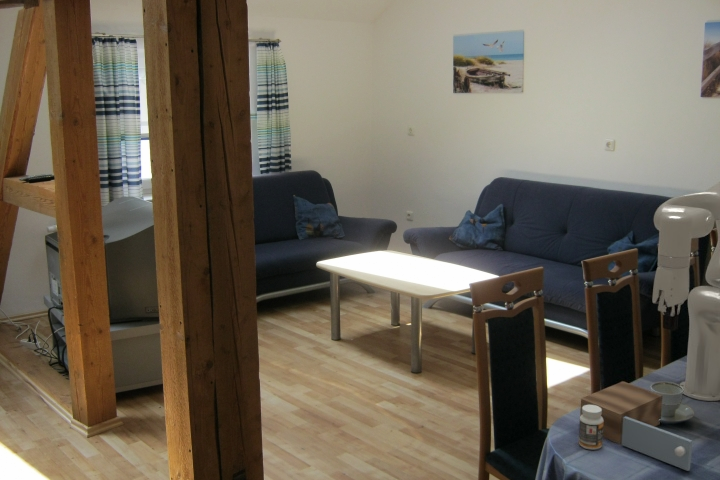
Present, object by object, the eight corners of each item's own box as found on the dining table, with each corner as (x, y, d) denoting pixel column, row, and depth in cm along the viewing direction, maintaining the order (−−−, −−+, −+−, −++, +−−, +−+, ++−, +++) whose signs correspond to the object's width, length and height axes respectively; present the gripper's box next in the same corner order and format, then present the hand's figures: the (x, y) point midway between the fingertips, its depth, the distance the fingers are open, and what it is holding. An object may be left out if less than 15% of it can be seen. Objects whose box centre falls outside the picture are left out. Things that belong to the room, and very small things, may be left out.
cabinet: (621, 408, 206) (623, 381, 204) (660, 423, 196) (662, 395, 194) (579, 426, 195) (581, 398, 194) (618, 443, 186) (620, 414, 184)
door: (618, 446, 184) (619, 419, 182) (623, 443, 185) (625, 416, 184) (684, 473, 171) (687, 443, 169) (690, 469, 172) (692, 440, 171)
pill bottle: (603, 451, 182) (605, 414, 180) (579, 449, 184) (581, 412, 181) (601, 440, 188) (602, 404, 186) (577, 438, 189) (579, 402, 187)
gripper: (675, 252, 195) (671, 318, 199) (643, 264, 186) (640, 332, 190) (703, 257, 189) (698, 325, 193) (671, 269, 180) (668, 340, 185)
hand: (670, 328), depth 192 cm, fingers closed
